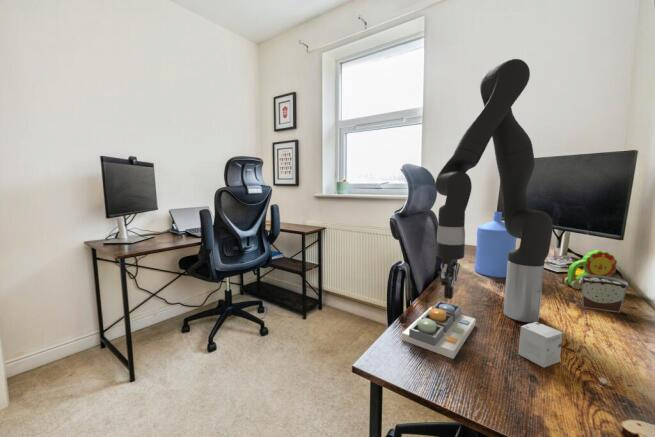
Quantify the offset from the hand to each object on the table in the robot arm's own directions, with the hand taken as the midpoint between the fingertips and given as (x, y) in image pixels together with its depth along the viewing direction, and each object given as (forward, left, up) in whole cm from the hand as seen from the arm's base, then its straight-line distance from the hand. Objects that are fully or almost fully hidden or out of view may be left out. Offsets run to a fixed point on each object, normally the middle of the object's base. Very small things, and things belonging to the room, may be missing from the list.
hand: (448, 297), depth 86 cm
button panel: (-1, +8, -7) cm, 11 cm away
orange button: (0, +8, -4) cm, 9 cm away
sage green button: (0, +16, -4) cm, 17 cm away
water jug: (-2, -61, -7) cm, 61 cm away
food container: (-36, -43, -7) cm, 56 cm away
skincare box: (-23, +5, -8) cm, 25 cm away
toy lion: (-35, -64, -8) cm, 73 cm away
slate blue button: (0, 0, -5) cm, 5 cm away
